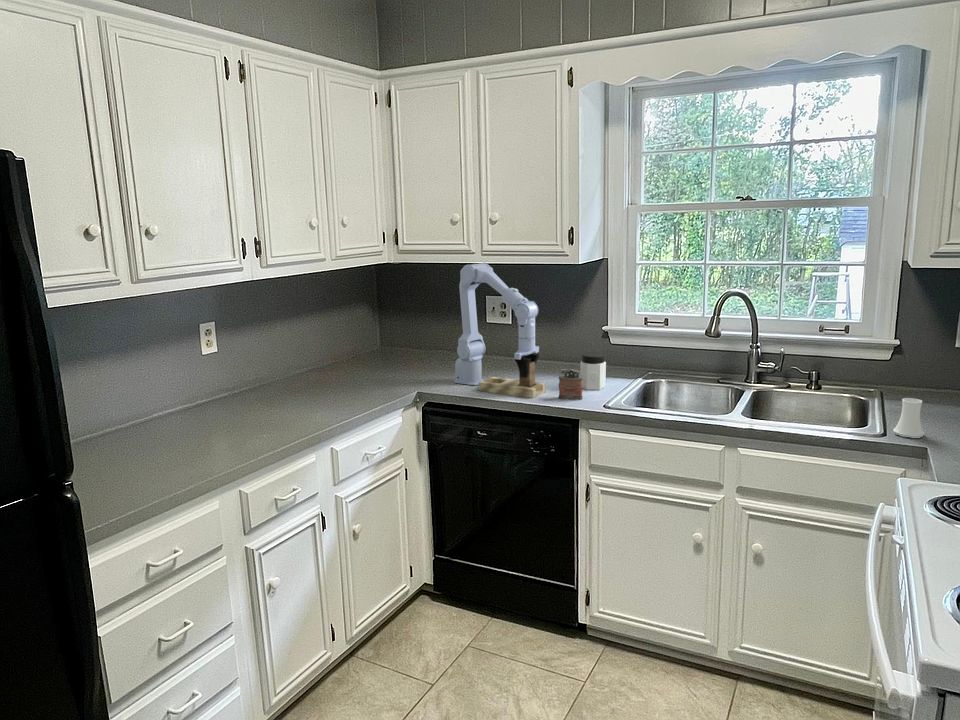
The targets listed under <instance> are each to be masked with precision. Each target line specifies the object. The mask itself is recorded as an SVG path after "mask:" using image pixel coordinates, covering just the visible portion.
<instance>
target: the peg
mask: <svg viewBox="0 0 960 720" xmlns="http://www.w3.org/2000/svg"><path fill="white" fill-rule="evenodd" d="M518 372H519V376H518V377H519V379H518V380H519V386H527V387H530V386H532V385H534V384H535V382H536V365H535V362H532V361H530V363H529V367H528V375H527V378H524V377H521V375H520V371H519V370H518Z"/></svg>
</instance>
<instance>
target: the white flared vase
mask: <svg viewBox="0 0 960 720" xmlns="http://www.w3.org/2000/svg"><path fill="white" fill-rule="evenodd" d="M901 401H902V406H901V407H902V408H901V413H900V417H899V420H898V422H897V424H896V426H895V427H894V428H893V429H892V430H893V431H894V432H896V433H899V434H902V435H908V436H922V435H924V436H925V432H924V430H923V427H922V424H921V407H922V404H923V400H922V399H918V398H914V397H913V398H912V397H904V398H902V399H901ZM893 431H892V432H893Z"/></svg>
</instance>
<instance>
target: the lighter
mask: <svg viewBox="0 0 960 720" xmlns="http://www.w3.org/2000/svg"><path fill="white" fill-rule="evenodd" d="M560 374H564V375H558V382H559V383H558V384H559V385H558V387H559V388H558V390H559V392H558V399H560V400H570V401H572V400H573V401H575V400H576V401H581V400H583V388H582V380H583V377H581V376H580V370H575V369H573V368H571V369H562V368H561V369H560Z"/></svg>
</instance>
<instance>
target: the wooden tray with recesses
mask: <svg viewBox="0 0 960 720" xmlns="http://www.w3.org/2000/svg"><path fill="white" fill-rule="evenodd" d="M478 391H480V392H485V391H486V393H495V394H500V393H501V395H510V396H515V397H521V396H522V397H523V398H528V397H529V399H535V398H536V397H538V396H540V395H542V394H543V393H546V383H545V382H537V381H535V384H534V385H532V386H530V387H527V386H519V379H515V378H513V379H512V378H506V377H497V376H490V377H488V378H486V379H484V380H483V381H481V382H479V384H478ZM522 397H521V398H522Z"/></svg>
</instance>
